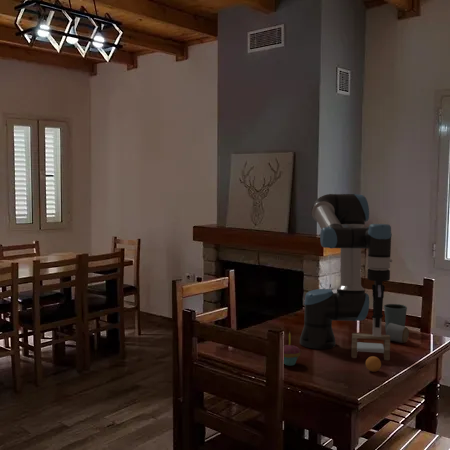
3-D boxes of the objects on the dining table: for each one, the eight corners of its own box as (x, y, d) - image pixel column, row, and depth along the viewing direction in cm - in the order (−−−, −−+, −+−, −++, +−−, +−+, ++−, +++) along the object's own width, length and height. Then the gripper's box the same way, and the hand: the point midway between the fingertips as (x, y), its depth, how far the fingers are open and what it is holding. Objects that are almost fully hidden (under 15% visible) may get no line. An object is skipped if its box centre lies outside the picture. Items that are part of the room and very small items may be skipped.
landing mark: (352, 351, 224) (352, 350, 224) (351, 342, 237) (351, 341, 237) (385, 353, 221) (385, 352, 221) (382, 344, 234) (382, 343, 234)
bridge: (389, 360, 212) (390, 337, 212) (351, 357, 215) (352, 334, 215) (388, 357, 215) (389, 335, 215) (351, 355, 218) (351, 332, 217)
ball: (365, 373, 197) (366, 358, 197) (364, 368, 203) (365, 353, 202) (381, 374, 196) (382, 359, 196) (380, 369, 202) (380, 354, 201)
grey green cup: (410, 332, 254) (411, 307, 253) (396, 335, 249) (396, 309, 248) (393, 327, 263) (393, 302, 262) (378, 330, 257) (379, 305, 256)
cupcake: (277, 359, 211) (278, 329, 211) (299, 360, 211) (300, 330, 210) (279, 367, 203) (279, 335, 202) (301, 367, 203) (302, 336, 202)
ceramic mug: (403, 345, 233) (404, 327, 233) (384, 341, 238) (385, 324, 238) (411, 340, 242) (412, 323, 241) (393, 336, 247) (394, 320, 246)
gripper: (392, 271, 180) (389, 341, 182) (388, 266, 193) (386, 331, 195) (368, 270, 182) (366, 340, 183) (366, 265, 195) (364, 330, 196)
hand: (376, 335), depth 189 cm, fingers closed
